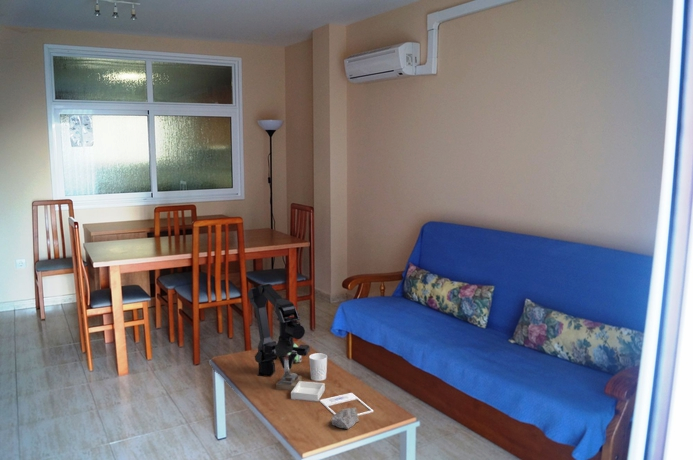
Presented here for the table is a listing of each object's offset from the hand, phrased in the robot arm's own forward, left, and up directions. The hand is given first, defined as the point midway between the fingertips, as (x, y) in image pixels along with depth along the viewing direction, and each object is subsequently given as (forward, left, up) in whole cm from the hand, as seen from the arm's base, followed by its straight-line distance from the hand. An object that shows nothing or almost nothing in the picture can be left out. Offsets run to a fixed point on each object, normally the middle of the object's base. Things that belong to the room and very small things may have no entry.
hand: (287, 368), depth 237 cm
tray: (+10, -4, -9) cm, 14 cm away
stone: (+31, -26, -9) cm, 41 cm away
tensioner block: (0, +3, -9) cm, 9 cm away
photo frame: (+28, -11, -9) cm, 32 cm away
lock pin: (0, 0, -2) cm, 2 cm away
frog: (-7, +29, -9) cm, 31 cm away
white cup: (+10, +13, -9) cm, 18 cm away
